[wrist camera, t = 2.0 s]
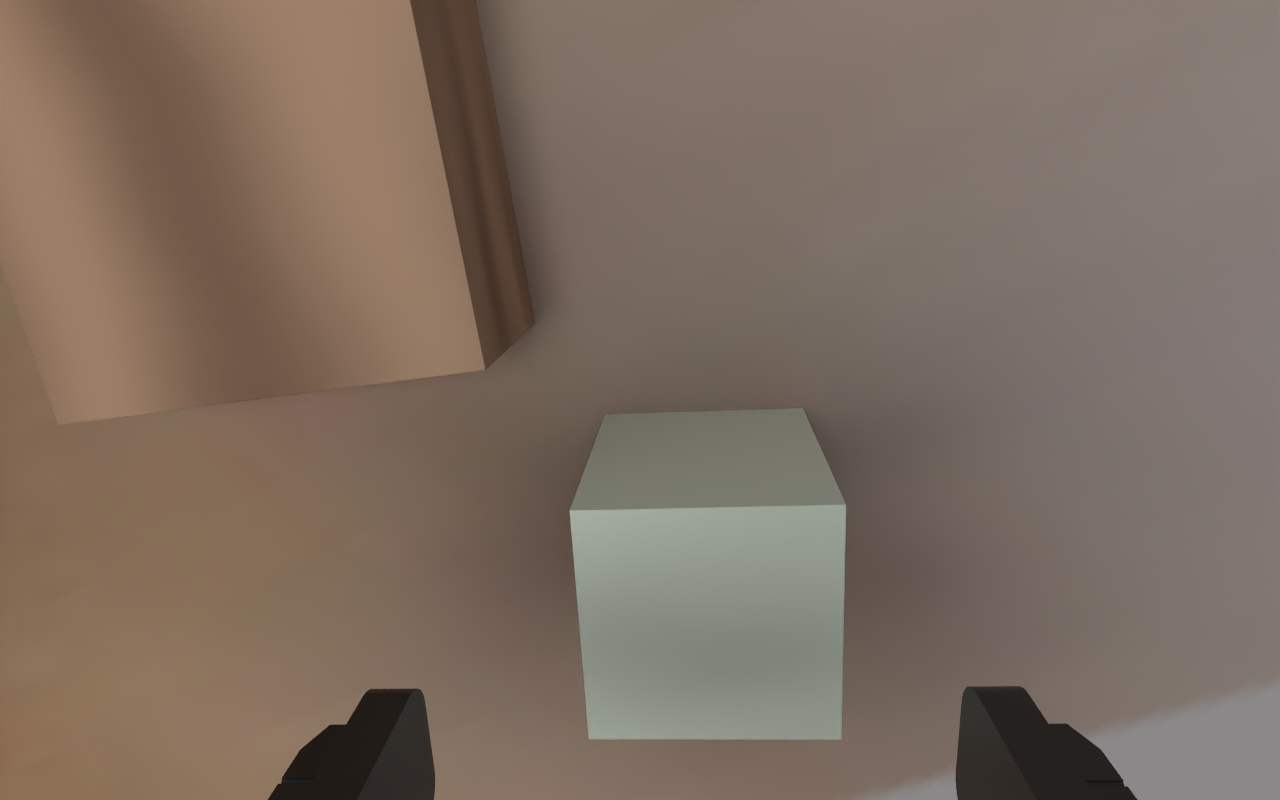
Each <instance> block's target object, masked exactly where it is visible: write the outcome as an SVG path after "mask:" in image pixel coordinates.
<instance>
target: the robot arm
mask: <svg viewBox="0 0 1280 800" xmlns="http://www.w3.org/2000/svg"><path fill="white" fill-rule="evenodd" d="M956 789H957V797H958V800H1137V799H1136V798H1135V796H1134V795H1133V793H1132V792H1131V791H1130V789H1129V788H1128V787H1125V786H1124V784H1123V779H1122V778H1121V777H1120V775H1119V774H1118V773H1117V771H1116V770H1115V768H1114V767H1113V766H1112V764H1111V763H1110V762H1109V760H1108V759H1107V757H1106V756H1105V755H1104V753H1103V752H1102V751H1101V749H1099V748H1098V747H1097V746H1095V745H1094V744H1093V743H1091V742H1090V741H1089V740H1087V739H1086V738H1085V737H1084V736H1082V735H1081V734H1080V733H1078V732H1077V731H1076V730H1074V729H1073V728H1072V727H1070V726H1069V725H1068V724H1048V723H1047V721H1046V720H1045V718H1044V717H1043V715H1042V714H1041V712H1040V711H1039V709H1038V708H1037V706H1036V705H1035V703H1034V702H1033V700H1032V699H1031V697H1030V696H1029V694H1028V693H1027V691H1026V690H1025V689H1024V688H1022V687H1019V686H1005V687H967V688H966V689H965V690H964V693H963V696H962V705H961V717H960V729H959V741H958V753H957V765H956ZM434 793H435V771H434V763H433V756H432V749H431V742H430V735H429V727H428V720H427V713H426V706H425V700H424V696H423V693H422V691H421V690H420V689H370V690H368V691H367V692H366V693H365V694H364V696H363V697H362V699H361V701H360V702H359V704H358V706H357V707H356V709H355V711H354V712H353V714H352V716H351V717H350V719H349V721H348V722H347V724H346V725H329V726H328V727H327V728H326V729H325V730H323V731H322V732H321V733H320V734H319V735H317V736H316V737H315V738H314V739H313V740H311V741H310V742H309V743H308V744H307V745H305V746H304V747H303V748H302V749H301V750H300V751H299V753H298V754H297V756H296V757H295V759H294V760H293V762H292V763H291V765H290V766H289V768H288V769H287V771H286V773H285V774H284V776H283V777H282V782H281V784H278V785H277V786H276V788H275V789H274V791H273V792H272V794H271V796H270V797H269V799H268V800H434Z"/></svg>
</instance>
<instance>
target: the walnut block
mask: <svg viewBox="0 0 1280 800" xmlns="http://www.w3.org/2000/svg"><path fill="white" fill-rule="evenodd" d="M0 265H1V268H2V270H3V273H4V276H5V279H6V281H7V284H8V287H9V290H10V293H11V295H12V298H13V301H14V304H15V306H16V309H17V312H18V315H19V317H20V320H21V323H22V326H23V329H24V331H25V334H26V337H27V340H28V342H29V345H30V348H31V351H32V354H33V356H34V359H35V362H36V365H37V367H38V370H39V373H40V376H41V378H42V381H43V384H44V387H45V390H46V392H47V395H48V398H49V401H50V403H51V406H52V409H53V412H54V415H55V417H56V420H57V423H58V425H60V424H68V423H76V422H83V421H91V420H99V419H107V418H115V417H122V416H130V415H138V414H146V413H154V412H161V411H169V410H177V409H185V408H193V407H200V406H208V405H216V404H224V403H232V402H239V401H247V400H255V399H263V398H271V397H278V396H286V395H294V394H302V393H310V392H317V391H325V390H333V389H341V388H349V387H356V386H364V385H372V384H380V383H388V382H395V381H403V380H411V379H419V378H427V377H434V376H442V375H450V374H458V373H466V372H473V371H481V370H486V369H487V368H488V367H489V366H490V365H491V364H492V363H493V362H494V361H495V360H497V359H498V358H499V357H500V356H501V355H502V354H503V353H504V352H505V351H506V350H507V349H508V348H509V347H510V346H511V345H512V344H514V343H515V342H516V341H517V340H518V339H519V338H520V337H521V336H522V335H523V334H524V333H525V332H526V331H527V330H528V329H530V328H531V327H532V326H533V325H534V324H535V322H534V317H533V311H532V306H531V300H530V295H529V289H528V284H527V279H526V273H525V268H524V262H523V257H522V251H521V246H520V241H519V235H518V230H517V224H516V219H515V213H514V208H513V203H512V197H511V192H510V186H509V181H508V176H507V170H506V165H505V159H504V154H503V148H502V143H501V138H500V132H499V127H498V121H497V116H496V110H495V105H494V100H493V94H492V89H491V83H490V78H489V72H488V67H487V62H486V56H485V51H484V45H483V40H482V34H481V29H480V24H479V18H478V13H477V7H476V2H475V0H0Z"/></svg>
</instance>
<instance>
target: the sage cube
mask: <svg viewBox="0 0 1280 800" xmlns="http://www.w3.org/2000/svg"><path fill="white" fill-rule="evenodd" d="M570 521H571V533H572V545H573V557H574V569H575V580H576V592H577V604H578V616H579V628H580V640H581V651H582V663H583V675H584V687H585V699H586V710H587V722H588V734H589V739H749V740H841V730H842V681H843V632H844V583H845V534H846V503H845V501H844V499H843V497H842V494H841V492H840V490H839V488H838V486H837V483H836V481H835V479H834V477H833V474H832V472H831V470H830V468H829V465H828V463H827V461H826V459H825V456H824V454H823V452H822V450H821V447H820V445H819V443H818V441H817V438H816V436H815V434H814V432H813V430H812V427H811V425H810V423H809V421H808V418H807V416H806V414H805V412H804V409H803V408H792V409H760V410H728V411H696V412H664V413H632V414H605V416H604V419H603V422H602V424H601V427H600V430H599V432H598V435H597V438H596V441H595V443H594V446H593V449H592V451H591V454H590V457H589V459H588V462H587V465H586V468H585V470H584V473H583V476H582V478H581V481H580V484H579V487H578V489H577V492H576V495H575V497H574V500H573V503H572V505H571V508H570Z"/></svg>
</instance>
